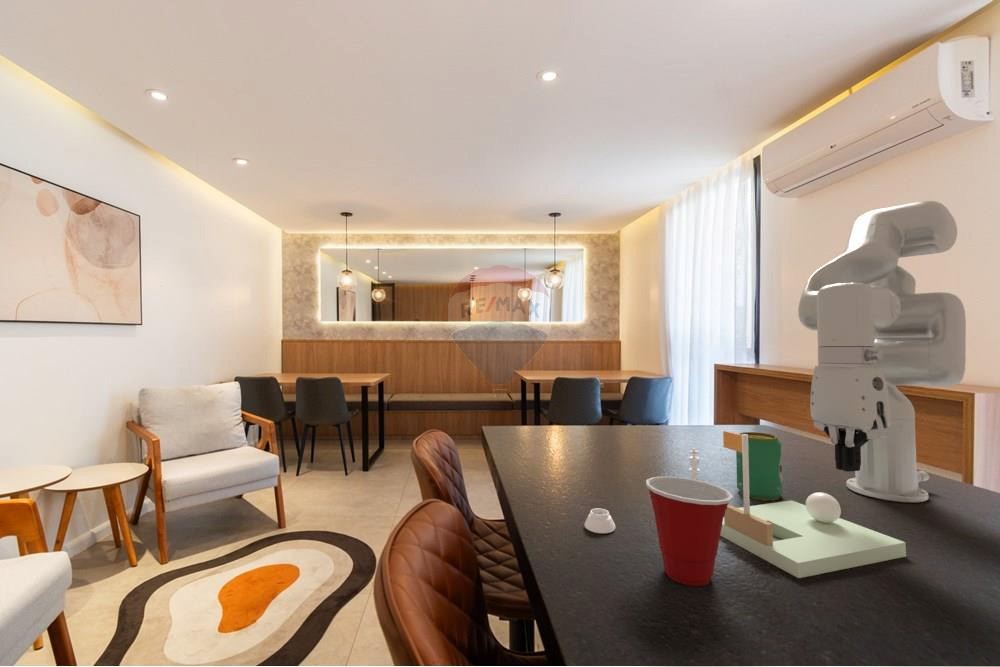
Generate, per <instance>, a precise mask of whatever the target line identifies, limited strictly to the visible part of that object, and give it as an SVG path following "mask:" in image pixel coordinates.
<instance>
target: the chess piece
mask: <svg viewBox="0 0 1000 667" xmlns="http://www.w3.org/2000/svg"><path fill="white" fill-rule="evenodd" d="M689 454H691V456H689V457H688V461H689V463H690V466H691V467H690V468H688V471H689V472H691V479H692V480H697V481H699V478H698V473H700V472H701V470H700V468H698V467H699V462H700V460H701V459H700V457H698V456H696V455H699V454H700V453H699V451H698V450H696V447H692V450H689Z"/></svg>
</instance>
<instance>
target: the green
mask: <svg viewBox="0 0 1000 667" xmlns="http://www.w3.org/2000/svg"><path fill="white" fill-rule="evenodd" d="M722 434H723V435H722V436H723V438H722V439H723V448H725V449H728V450H733V451H735V452H736V451H738V452H742V457H743V495H742V496H743V497H742V498H743V507H735V506H733V505H731V504H728V505H727V510H726V511H725V516H724V518H723V522H722V528H721V534H720V537H722V538H724V539H727V540H728V541H729V542H732V543H733V544H735V545H737V546H739V547H741V548H742V549H744V550H747V551H748V552H750V553H751V554H753V555H755V556H757V557H759V558H761V559H762V560H764V561H766V562H768V563H770V564H771V565H773V566H776V568H779V569H781V570H783V571H784V572H786V573H788V574H789V575H791V576H794V577H795V578H797V579H802V578H807V577H812V576H816V575H817V576H818V575H822V574H825V573H832V572H836V571H837V572H838V571H841V570H846V569H850V568H857V567H862V566H865V565H873V564H876V563H881V562H885V561H890V560H895V559H901V558H906V557H907V550H906V549H907V546H906V544H907V543H906V542H905V541H903V540H901V539H897V538H895V537H892V536H889V535H887V534H883V533H881V532H878V531H875V530H874V529H870V528H867V527H864V526H862V525H860V524H857V523H854V522H852V521H848V520H846V519H843V518H841V517H839V518H838V519H837V520H836V521H834V522H831V523H823V522H819V521H817V520H815V519H814V518H813V517H811V516H810V514H809V513H808V511H807V509H806V504H803V503H799V502H797V501H795V500H785V501H784V500H783V501H777V502H771V503H770V502H769V503H763V504H756V505H751V504H750V503H751V500H750V499H751V498H749V457H748V435H747V434H742V435H739V433H734V432H729V431H727V430H723V431H722Z"/></svg>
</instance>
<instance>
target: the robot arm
mask: <svg viewBox="0 0 1000 667" xmlns="http://www.w3.org/2000/svg"><path fill="white" fill-rule="evenodd" d="M957 237H958V226H957V222H956V220H955V218H954V216H953V215H952V213H951V212H950V211H949V209H948V208H947V207H946V206H945V205H944V204H943V203H941V202H938V201H936V200H920V201H915V202H910V203H906V204H900V205H895V206H890V207H884V208H879V209H874V210H870V211H868V212H866V213H864V214H862V215H860V216H859V217H858V218H857V219H856V220H855V221H854V222H853V225H852V226H851V230H850V234H849V237H848V239H847V242H846V246H845V249H844V252H843V254H840V255H838V256H837V257H835V258H834V259H832V260H830V261H828V262H827V263H826V264H824V265H822V266H821V267H820V268H818V269H816V271H814V272H813V274H811V275H810V276H809V277H808V278H807V280H806V282H805V286H804V288H803V290H802V294H801V296H800V299H799V303H798V311H797V312H798V319H799V321H800V324H802V326H803V327H804V328H806V329H808V330H811V331H815V332H817V365H815V366H814V369H813V373H812V380H811V384H810V385H811V386H810V387H811V388H810V406H809V408H810V416H811V418H812V420H813V427H814V428H815V429H817V430H820V431H821V432H824V433H825V434H826V435H827V437H829V439H830V443H831V444H832V445H834V460H835V468H836V470H839V471H843V472H847V473H848V472H855V477H852V478H851V477H850V478H848V479H847V480H846V487H847V488H848V489H849V490H850V491H853V492H854V493H857V494H860V495H864V496H867V497H871V498H874V499H879V500H884V501H891V502H896V503H897V502H898V503H899V502H900V503H924V502H926V501H928V500H929V492H928V491H927V490H925V489H923V488H921V487H919V483H920V482H925V481H929V479H930V475H929V474H928V472H927V471H925V470H920V471H918V470H917V469H918V468H917V442H916V440H917V439H916V412H915V408H914V405H913V404H912V401H911V400H910V399H909V398H908V397H906V395H905V394H904V393H903V392H901V391H900V390H899V389H898V387H897V386H911V387H912V386H914V387H930V388H931V387H937V388H945V387H947V388H948V387H954V386H956V385H958V384H960V383H961V382H962V380H963V378H964V376H965V371H966V359H967V358H966V355H967V354H966V352H967V351H966V350H967V349H966V345H967V344H966V339H967V337H966V334H967V332H966V330H967V328H966V327H967V325H966V324H967V323H966V321H967V320H966V311H965V307H964V304H963V302H962V300H961V298H959V296H957V295H956V294H953V293H951V292H943V291H939V292H935V291H934V292H924V293H922V292H921V293H920V292H919V293H916V287H917V284H916V282H917V281H916V279H915V277H914V276H913V275H912V274H911V273H910V272H908V270H906V269H905V268H903V267H901V265H898V263H899V258H900V259H901V258H909V257H915V256H916V257H917V256H925V255H934V254H940V253H944V252H947V251H950V249H951V248H953V246H954V245H955V244H956V242H957Z"/></svg>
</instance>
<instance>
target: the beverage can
mask: <svg viewBox="0 0 1000 667" xmlns="http://www.w3.org/2000/svg"><path fill="white" fill-rule="evenodd" d="M738 434H739V435H742V434H747V435H748V457H749V497H750V499H753V498H754V499H753V500H759V501H767V500H772V501H777V500H780V498H781V496H782V494H783V467H782V466H783V465H782V463H783V462H782V460H783V459H782V443H781V442H780V440H779V439H778V436H777V435H774V434H771V433H767V432H757V431H745V432H739V433H738ZM735 454H736V456H735V457H736V461H735V462H736V487H737V490H738V491H739V494H740V495H742V496H743V457H742V452H738V451H735Z"/></svg>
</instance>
